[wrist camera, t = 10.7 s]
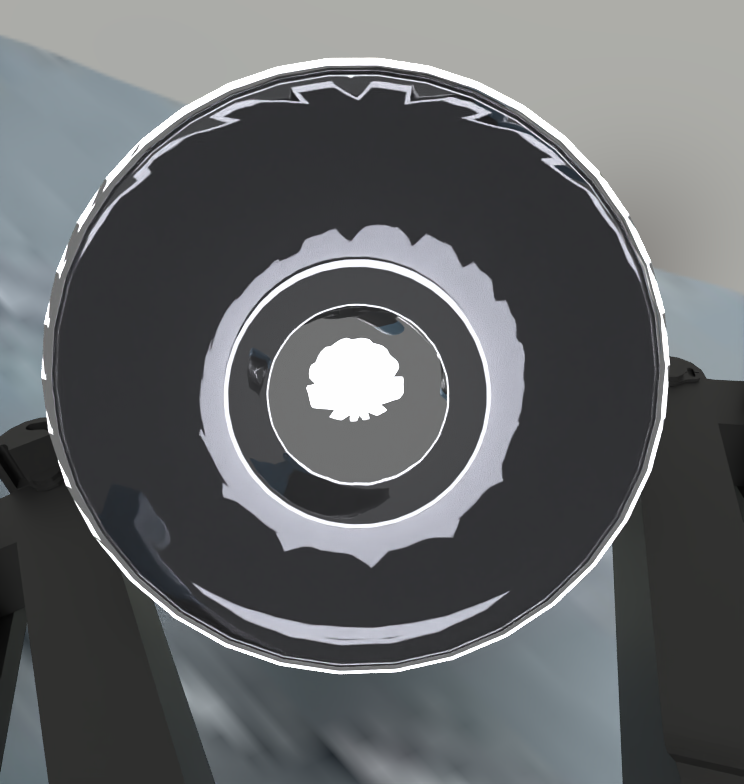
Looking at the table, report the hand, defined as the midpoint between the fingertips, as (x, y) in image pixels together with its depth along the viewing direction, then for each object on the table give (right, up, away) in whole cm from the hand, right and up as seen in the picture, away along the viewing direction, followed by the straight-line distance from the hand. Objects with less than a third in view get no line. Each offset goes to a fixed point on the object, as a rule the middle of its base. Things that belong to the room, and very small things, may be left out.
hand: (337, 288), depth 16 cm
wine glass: (0, -4, +6) cm, 8 cm away
